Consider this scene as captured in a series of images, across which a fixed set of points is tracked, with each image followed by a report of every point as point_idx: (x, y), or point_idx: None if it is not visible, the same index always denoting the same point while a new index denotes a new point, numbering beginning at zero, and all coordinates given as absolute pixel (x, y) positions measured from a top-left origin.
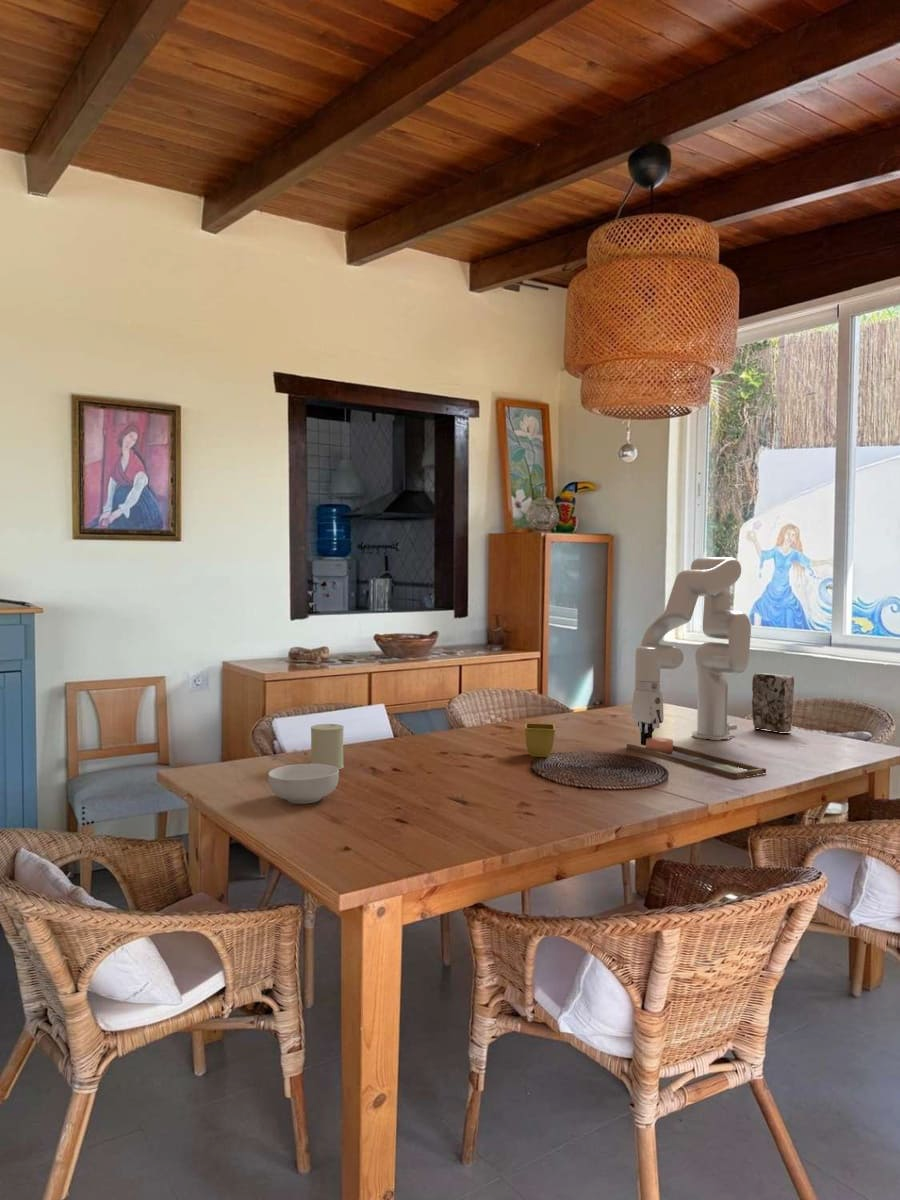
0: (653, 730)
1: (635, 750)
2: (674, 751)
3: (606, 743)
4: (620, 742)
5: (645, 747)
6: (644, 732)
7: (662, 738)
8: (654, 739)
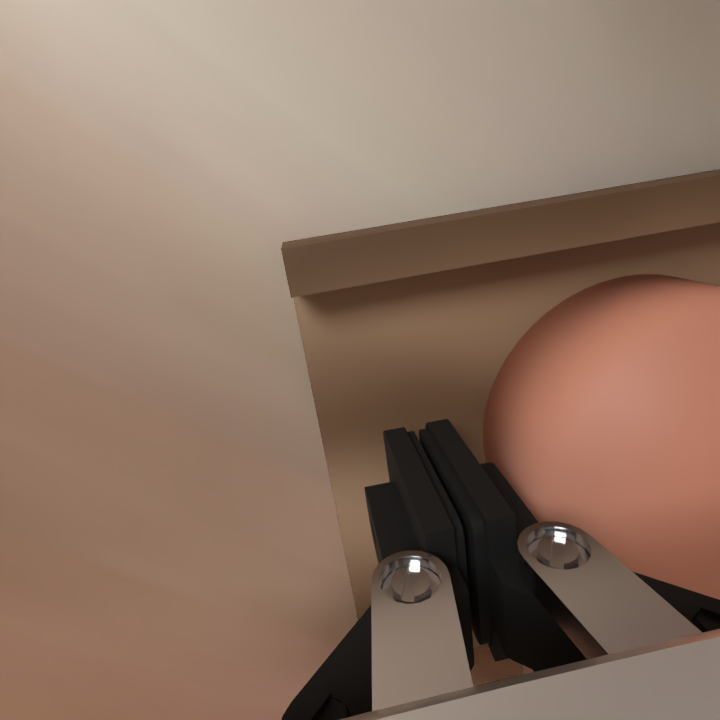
0: (599, 550)
1: None
2: (703, 256)
3: (47, 705)
4: (6, 568)
5: None
6: (495, 640)
7: (667, 392)
8: (658, 528)
